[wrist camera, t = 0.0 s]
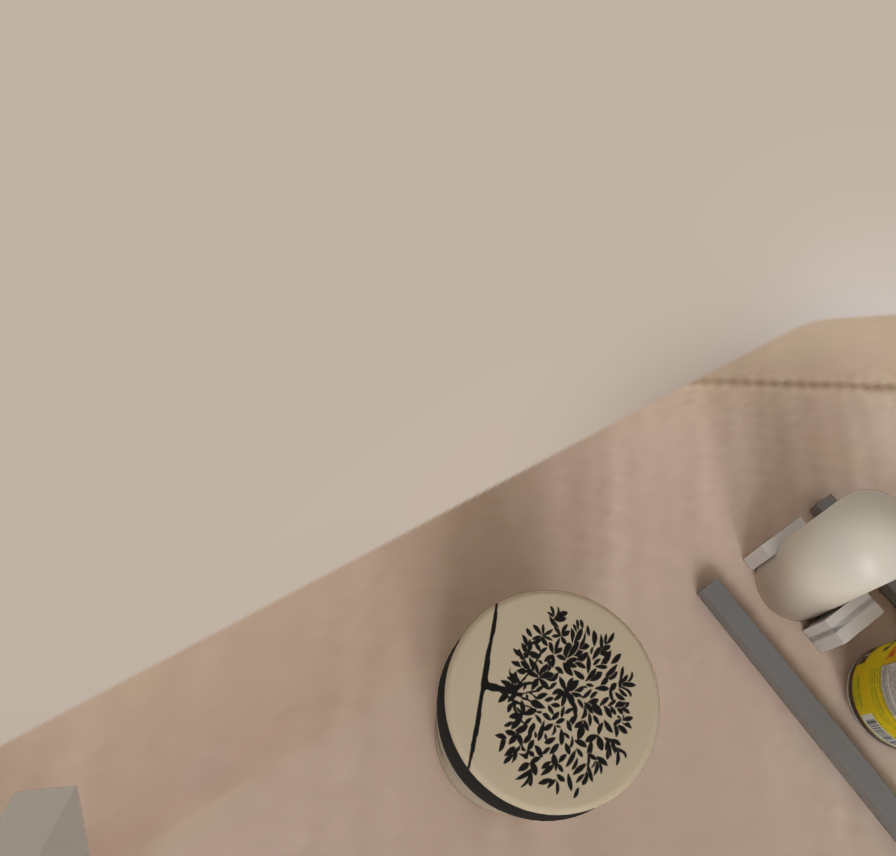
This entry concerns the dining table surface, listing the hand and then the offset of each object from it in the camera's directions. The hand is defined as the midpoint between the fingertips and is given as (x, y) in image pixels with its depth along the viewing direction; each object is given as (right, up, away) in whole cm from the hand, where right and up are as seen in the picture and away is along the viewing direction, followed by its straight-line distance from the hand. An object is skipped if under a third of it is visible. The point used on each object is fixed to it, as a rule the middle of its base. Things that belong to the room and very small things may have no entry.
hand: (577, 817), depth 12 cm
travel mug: (+2, -11, +35) cm, 36 cm away
